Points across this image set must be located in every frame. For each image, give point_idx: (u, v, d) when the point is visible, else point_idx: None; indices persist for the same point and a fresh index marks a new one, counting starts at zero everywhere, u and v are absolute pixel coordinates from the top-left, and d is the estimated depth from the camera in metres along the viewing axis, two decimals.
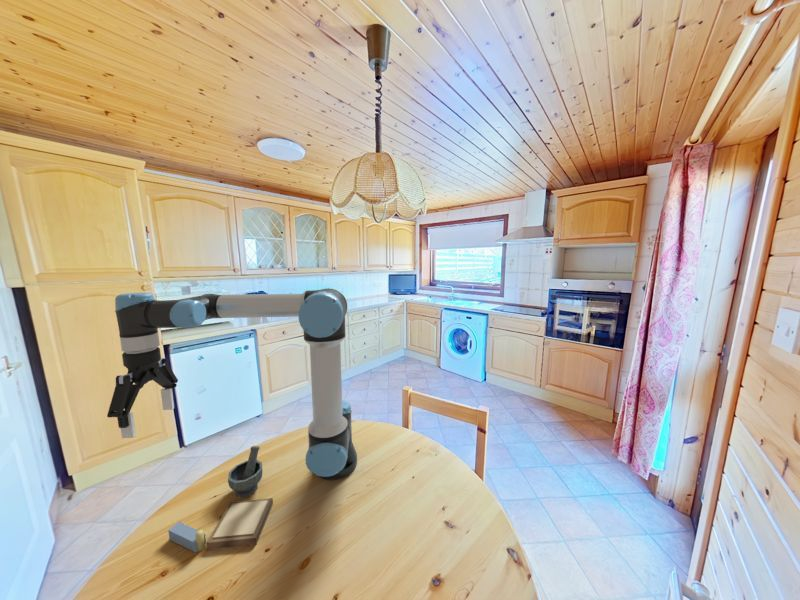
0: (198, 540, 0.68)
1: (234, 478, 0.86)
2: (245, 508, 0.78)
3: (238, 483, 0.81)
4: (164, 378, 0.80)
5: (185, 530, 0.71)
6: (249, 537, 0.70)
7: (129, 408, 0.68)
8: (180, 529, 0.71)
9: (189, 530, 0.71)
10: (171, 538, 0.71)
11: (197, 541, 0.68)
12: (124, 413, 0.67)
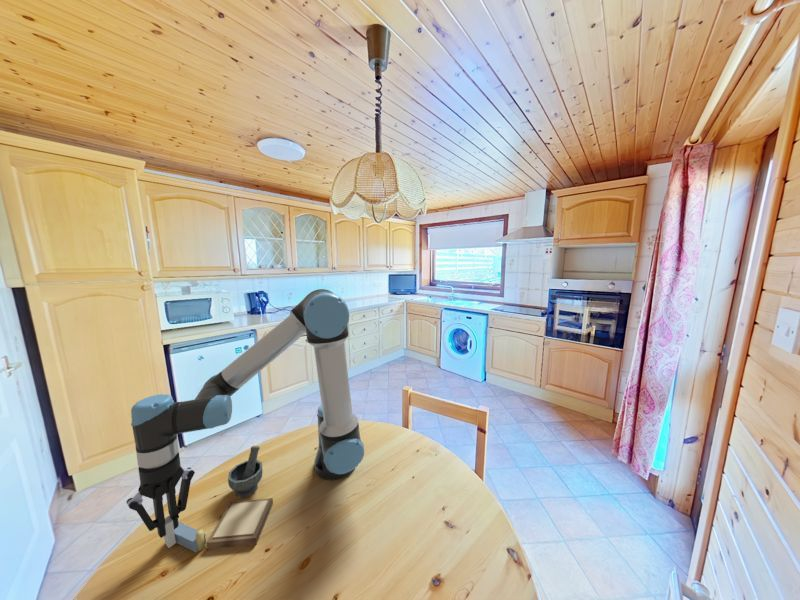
0: (198, 540, 0.68)
1: (234, 478, 0.86)
2: (245, 508, 0.78)
3: (238, 483, 0.81)
4: (173, 500, 0.68)
5: (185, 530, 0.71)
6: (249, 537, 0.70)
7: (162, 520, 0.67)
8: (180, 529, 0.71)
9: (189, 530, 0.71)
10: None
11: (197, 541, 0.68)
12: (159, 526, 0.66)
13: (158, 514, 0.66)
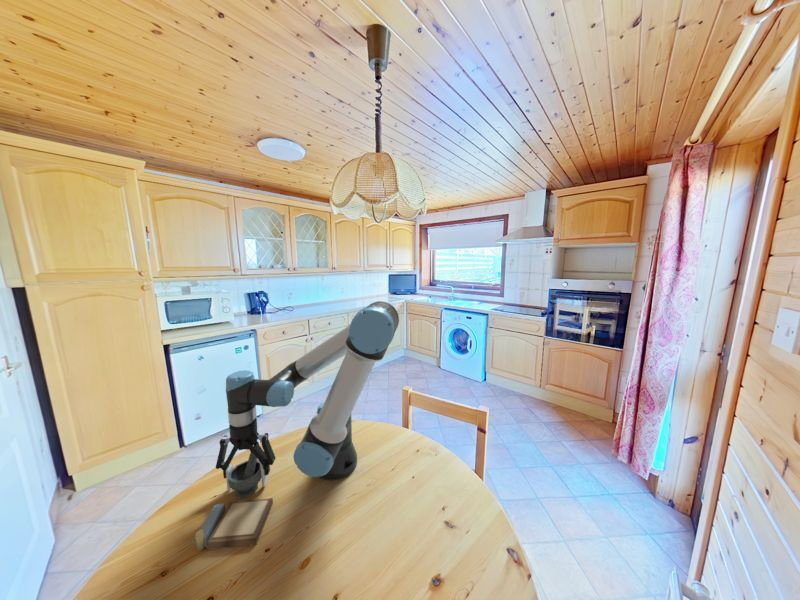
0: (196, 538, 0.68)
1: (234, 478, 0.86)
2: (245, 508, 0.78)
3: (238, 483, 0.81)
4: (257, 454, 0.85)
5: (212, 517, 0.74)
6: (249, 537, 0.70)
7: (225, 465, 0.85)
8: (214, 512, 0.76)
9: (211, 521, 0.73)
10: None
11: (196, 539, 0.68)
12: None
13: (227, 459, 0.84)
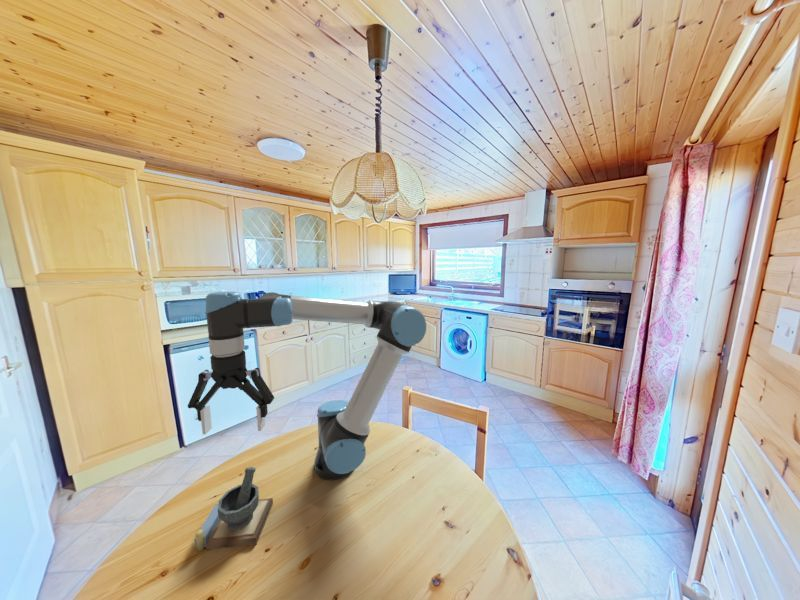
0: (196, 538, 0.68)
1: (225, 506, 0.74)
2: None
3: (230, 514, 0.69)
4: (249, 392, 0.69)
5: (212, 517, 0.74)
6: (249, 537, 0.70)
7: (200, 405, 0.69)
8: (214, 512, 0.76)
9: (211, 521, 0.73)
10: None
11: (196, 539, 0.68)
12: None
13: (204, 398, 0.68)
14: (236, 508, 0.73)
